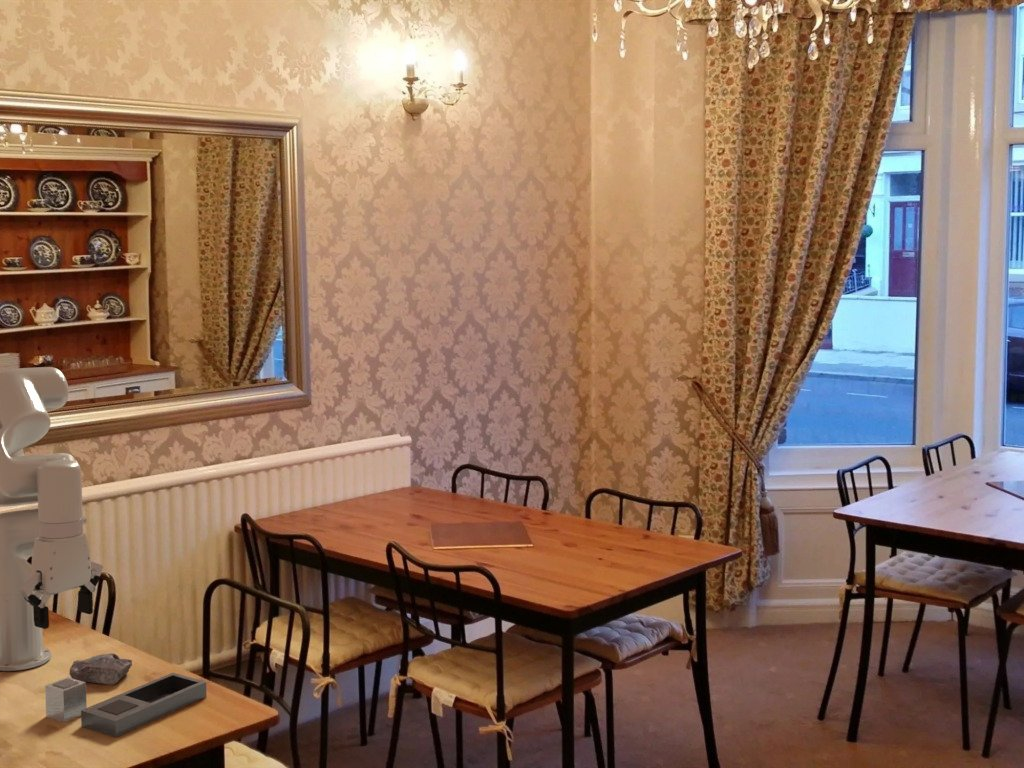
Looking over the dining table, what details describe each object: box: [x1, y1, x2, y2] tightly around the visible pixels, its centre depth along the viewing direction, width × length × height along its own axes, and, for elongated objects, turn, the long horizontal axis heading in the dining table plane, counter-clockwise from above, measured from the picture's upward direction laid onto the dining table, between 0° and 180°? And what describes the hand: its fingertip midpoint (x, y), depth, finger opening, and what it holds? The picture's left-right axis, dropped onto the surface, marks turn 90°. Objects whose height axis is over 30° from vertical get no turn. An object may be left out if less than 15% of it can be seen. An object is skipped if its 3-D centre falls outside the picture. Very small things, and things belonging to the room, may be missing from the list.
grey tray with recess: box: [80, 672, 207, 738], centre depth 219 cm, size 9×22×3 cm, turn 150°
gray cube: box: [44, 676, 88, 723], centre depth 216 cm, size 5×5×6 cm
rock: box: [69, 652, 133, 686], centre depth 235 cm, size 8×11×5 cm
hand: (64, 619), depth 215 cm, fingers open, 9 cm apart
